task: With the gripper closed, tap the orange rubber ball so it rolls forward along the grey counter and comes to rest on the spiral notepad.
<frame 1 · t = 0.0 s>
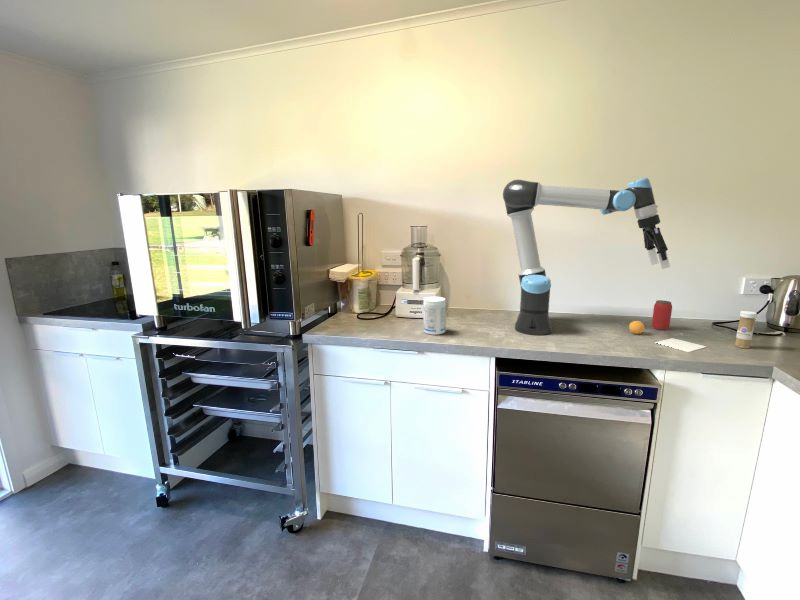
hand: (660, 266, 160), 28 cm above the worktop, tool tilted 20°, fingers open, 13 cm apart
sprinkles bottle: (742, 347, 144), on the worktop
beer can: (660, 328, 169), on the worktop
ball: (636, 327, 161), on the worktop
supplement tub: (434, 332, 166), on the worktop
spiral notepad: (680, 345, 147), on the worktop
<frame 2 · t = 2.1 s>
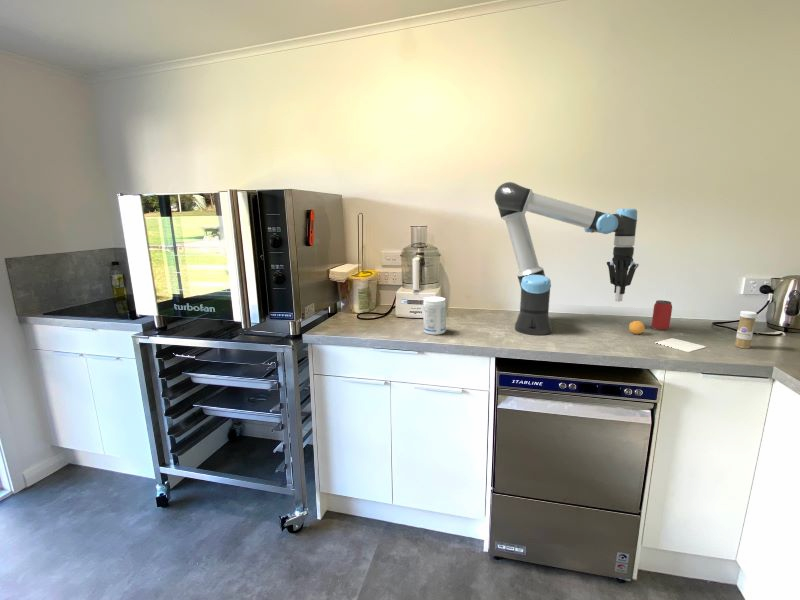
hand: (618, 301, 167), 12 cm above the worktop, tool pointing down, fingers closed
nothing on the worktop moved.
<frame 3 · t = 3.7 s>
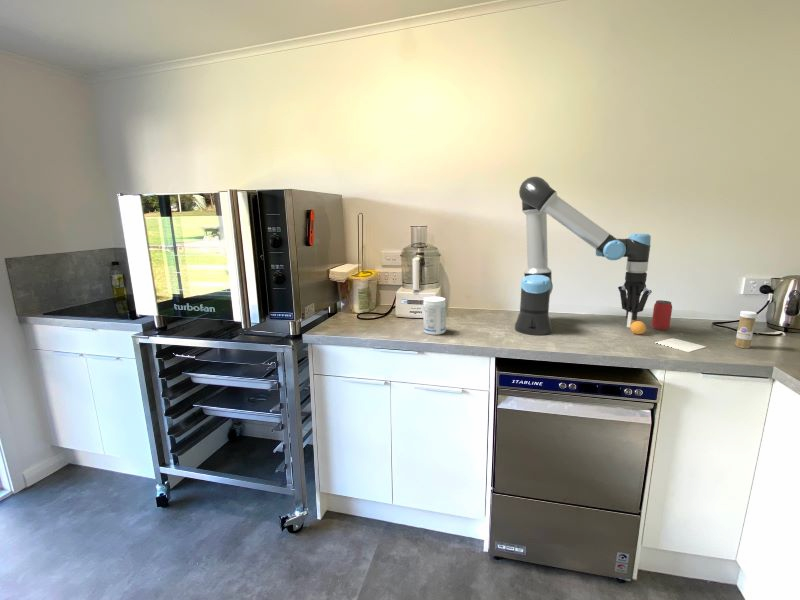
hand: (630, 326, 164), 2 cm above the worktop, tool pointing down, fingers closed
ball: (638, 327, 161), on the worktop, touching gripper
everything else where it was.
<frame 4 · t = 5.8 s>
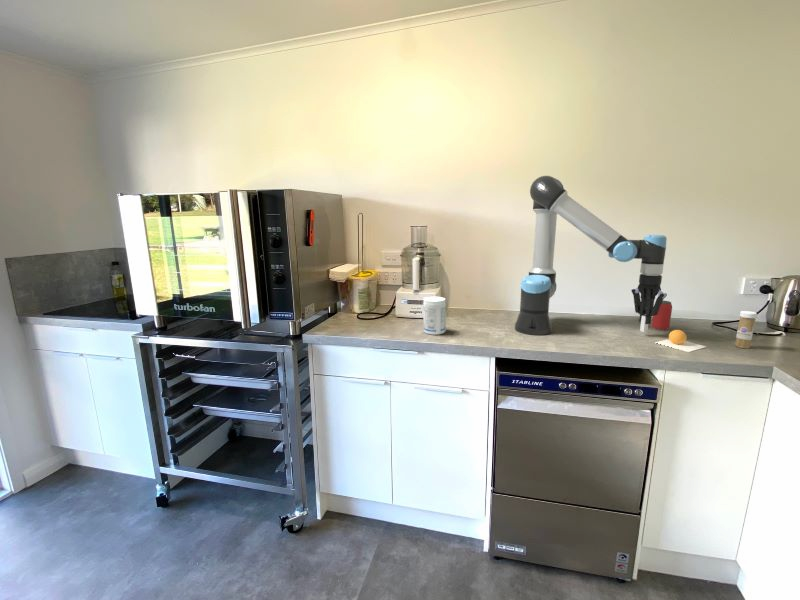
hand: (643, 331, 159), 2 cm above the worktop, tool pointing down, fingers closed
ball: (677, 337, 147), on the worktop
everything else where it was.
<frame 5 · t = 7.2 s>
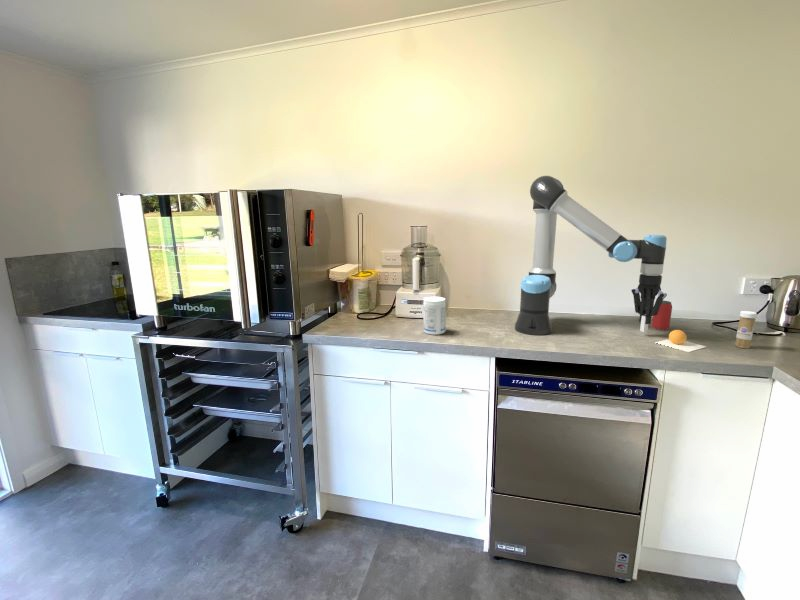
hand: (643, 331, 159), 2 cm above the worktop, tool pointing down, fingers closed
nothing on the worktop moved.
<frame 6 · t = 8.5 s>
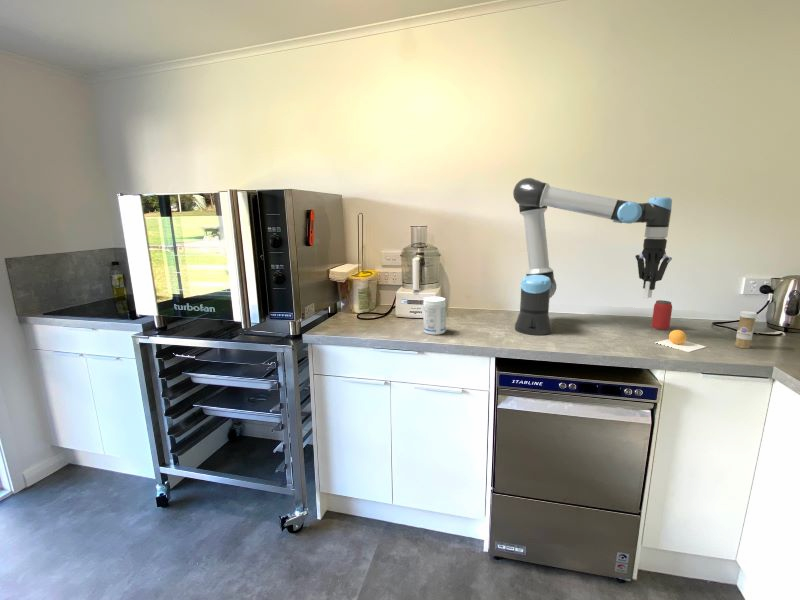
hand: (647, 297, 156), 16 cm above the worktop, tool pointing down, fingers closed
nothing on the worktop moved.
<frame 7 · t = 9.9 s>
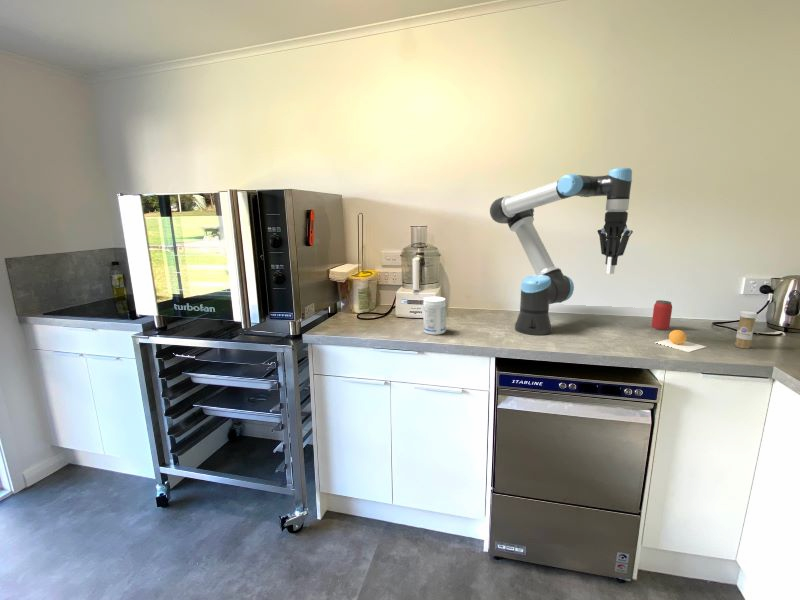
hand: (610, 273, 150), 26 cm above the worktop, tool pointing down, fingers closed
nothing on the worktop moved.
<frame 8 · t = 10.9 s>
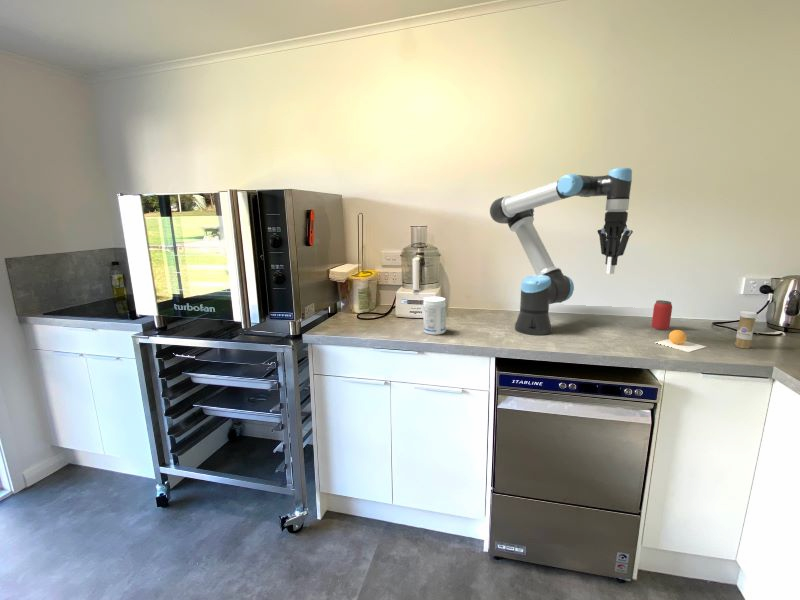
hand: (610, 273, 150), 26 cm above the worktop, tool pointing down, fingers closed
nothing on the worktop moved.
at the end: ball 1.4 cm from the spiral notepad (horizontally); ball at rest at the end (0.0 cm/s); ball moved 15.6 cm from its start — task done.
